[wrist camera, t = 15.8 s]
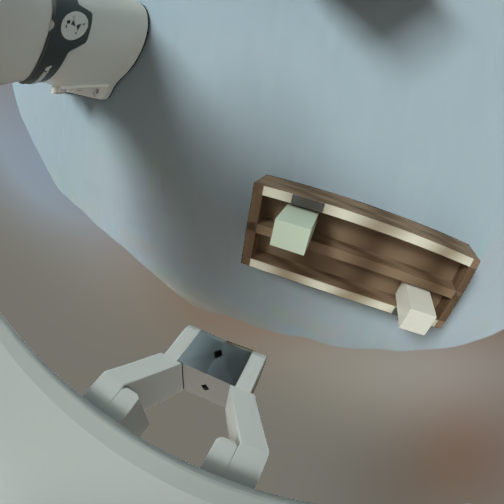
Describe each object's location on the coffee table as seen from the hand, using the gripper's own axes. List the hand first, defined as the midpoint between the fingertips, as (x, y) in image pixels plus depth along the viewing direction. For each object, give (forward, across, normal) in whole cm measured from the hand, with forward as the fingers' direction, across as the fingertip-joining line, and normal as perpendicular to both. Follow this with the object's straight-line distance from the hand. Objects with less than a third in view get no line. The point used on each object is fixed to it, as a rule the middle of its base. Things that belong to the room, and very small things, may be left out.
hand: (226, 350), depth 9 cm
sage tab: (+20, 0, +2) cm, 20 cm away
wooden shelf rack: (+22, -7, +4) cm, 23 cm away
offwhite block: (+19, -13, +6) cm, 24 cm away
